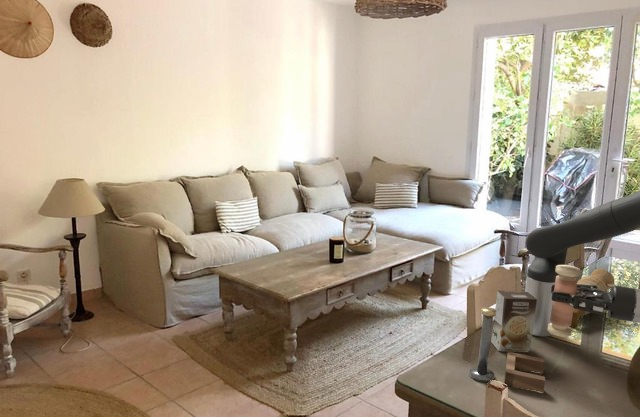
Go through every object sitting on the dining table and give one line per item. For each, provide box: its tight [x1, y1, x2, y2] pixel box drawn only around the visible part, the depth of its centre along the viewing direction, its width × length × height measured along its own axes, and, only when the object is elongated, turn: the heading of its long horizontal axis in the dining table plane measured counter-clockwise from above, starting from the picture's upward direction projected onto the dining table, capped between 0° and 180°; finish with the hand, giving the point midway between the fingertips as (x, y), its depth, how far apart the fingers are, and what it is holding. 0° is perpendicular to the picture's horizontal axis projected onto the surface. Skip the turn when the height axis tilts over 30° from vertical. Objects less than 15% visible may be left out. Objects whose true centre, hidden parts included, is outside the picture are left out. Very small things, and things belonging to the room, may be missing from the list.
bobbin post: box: [469, 306, 496, 383], centre depth 129 cm, size 6×6×18 cm
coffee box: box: [490, 290, 537, 353], centre depth 146 cm, size 9×6×16 cm
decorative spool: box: [570, 268, 615, 329], centre depth 173 cm, size 10×12×30 cm
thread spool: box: [547, 264, 581, 338], centre depth 121 cm, size 5×5×16 cm
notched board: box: [503, 351, 546, 393], centre depth 130 cm, size 12×9×4 cm
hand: (552, 292), depth 122 cm, fingers closed on thread spool, 4 cm apart
